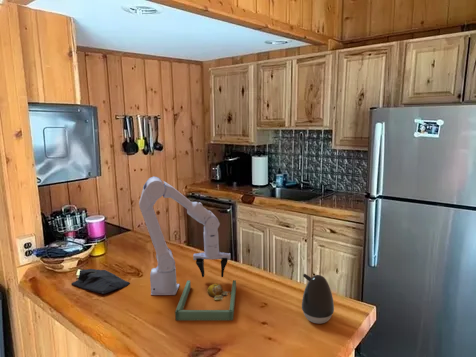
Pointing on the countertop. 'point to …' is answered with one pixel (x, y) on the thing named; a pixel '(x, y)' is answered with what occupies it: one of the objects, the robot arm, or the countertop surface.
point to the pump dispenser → (317, 300)
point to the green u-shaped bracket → (204, 314)
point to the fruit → (216, 292)
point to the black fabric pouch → (99, 281)
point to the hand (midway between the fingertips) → (212, 276)
